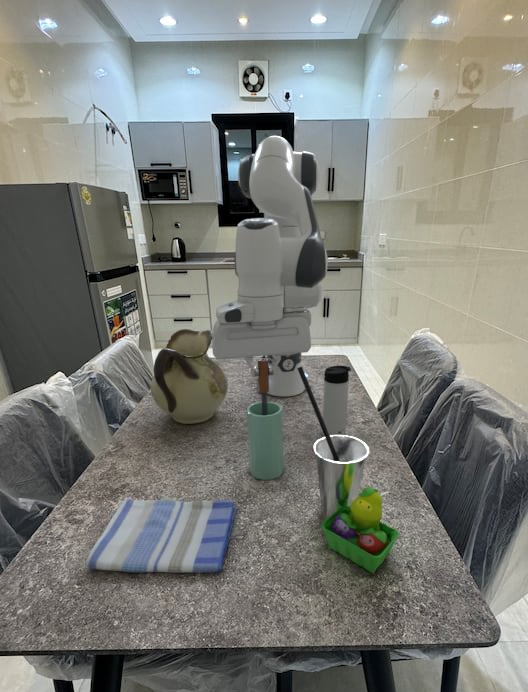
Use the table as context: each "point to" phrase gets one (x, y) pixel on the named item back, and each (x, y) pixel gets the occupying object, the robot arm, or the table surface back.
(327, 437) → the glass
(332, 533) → the fruit basket
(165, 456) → the table surface
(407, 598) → the table surface
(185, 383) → the pitcher
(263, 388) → the bottle brush
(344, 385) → the travel mug
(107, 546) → the dish towel
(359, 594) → the table surface
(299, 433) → the table surface
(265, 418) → the vase
